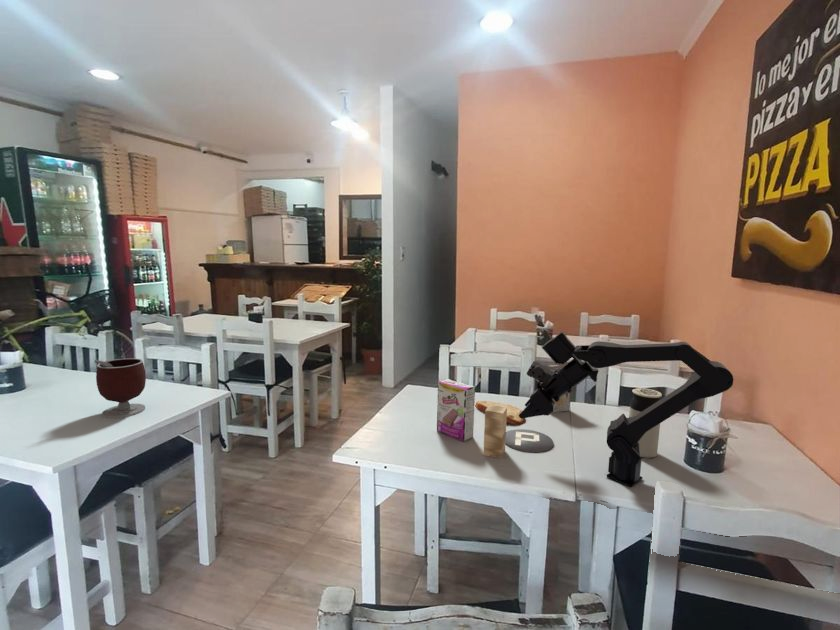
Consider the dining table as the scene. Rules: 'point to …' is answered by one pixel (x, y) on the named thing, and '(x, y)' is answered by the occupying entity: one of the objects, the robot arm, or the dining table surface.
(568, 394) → the coffee box
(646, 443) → the travel mug
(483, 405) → the slice of bread
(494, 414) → the oak block
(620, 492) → the dining table surface
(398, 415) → the dining table surface
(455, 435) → the candy bar box
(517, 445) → the letter board
